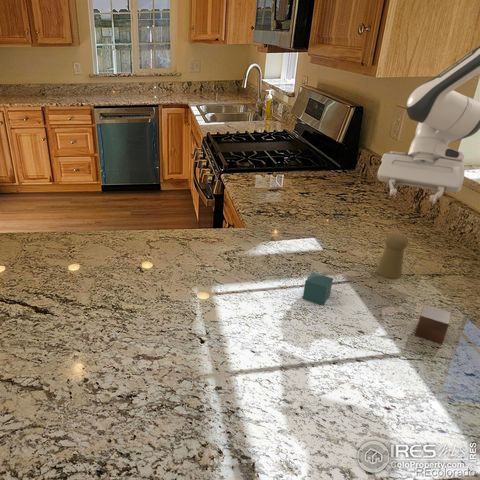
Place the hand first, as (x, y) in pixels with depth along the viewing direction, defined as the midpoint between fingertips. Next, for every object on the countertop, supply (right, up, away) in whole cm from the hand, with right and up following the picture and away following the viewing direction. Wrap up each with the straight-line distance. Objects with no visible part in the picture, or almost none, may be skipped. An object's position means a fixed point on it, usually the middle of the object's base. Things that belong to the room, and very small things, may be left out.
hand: (411, 199), depth 114 cm
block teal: (-30, -25, -11) cm, 40 cm away
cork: (-7, -20, -1) cm, 21 cm away
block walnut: (-10, -31, -24) cm, 40 cm away
